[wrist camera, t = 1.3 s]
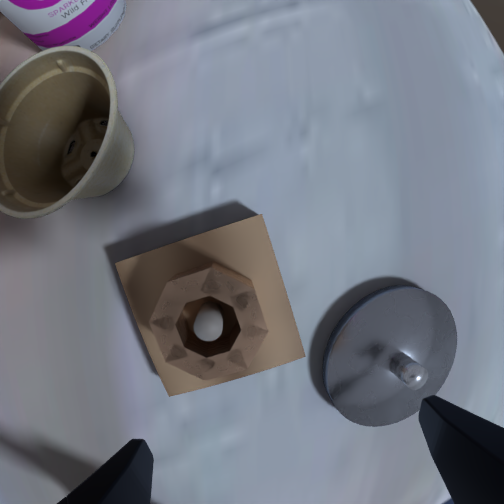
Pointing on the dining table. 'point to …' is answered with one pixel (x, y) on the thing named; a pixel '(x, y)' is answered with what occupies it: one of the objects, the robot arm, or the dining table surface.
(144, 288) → the stand
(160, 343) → the octagonal wooden ring
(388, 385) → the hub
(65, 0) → the supplement can
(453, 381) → the dining table surface
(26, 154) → the flower pot
